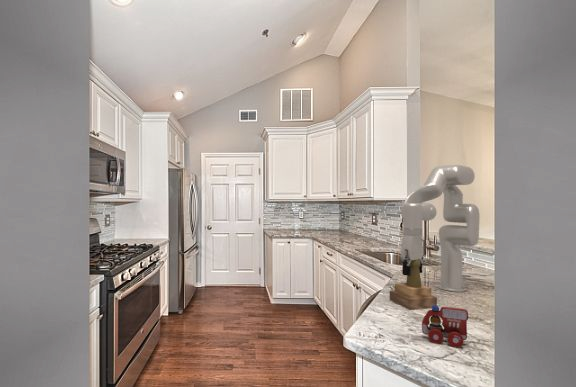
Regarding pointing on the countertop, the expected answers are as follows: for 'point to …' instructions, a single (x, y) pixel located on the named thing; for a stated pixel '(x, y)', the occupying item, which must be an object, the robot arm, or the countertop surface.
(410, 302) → the stepped wooden base
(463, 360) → the countertop surface
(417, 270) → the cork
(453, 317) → the toy fire truck
